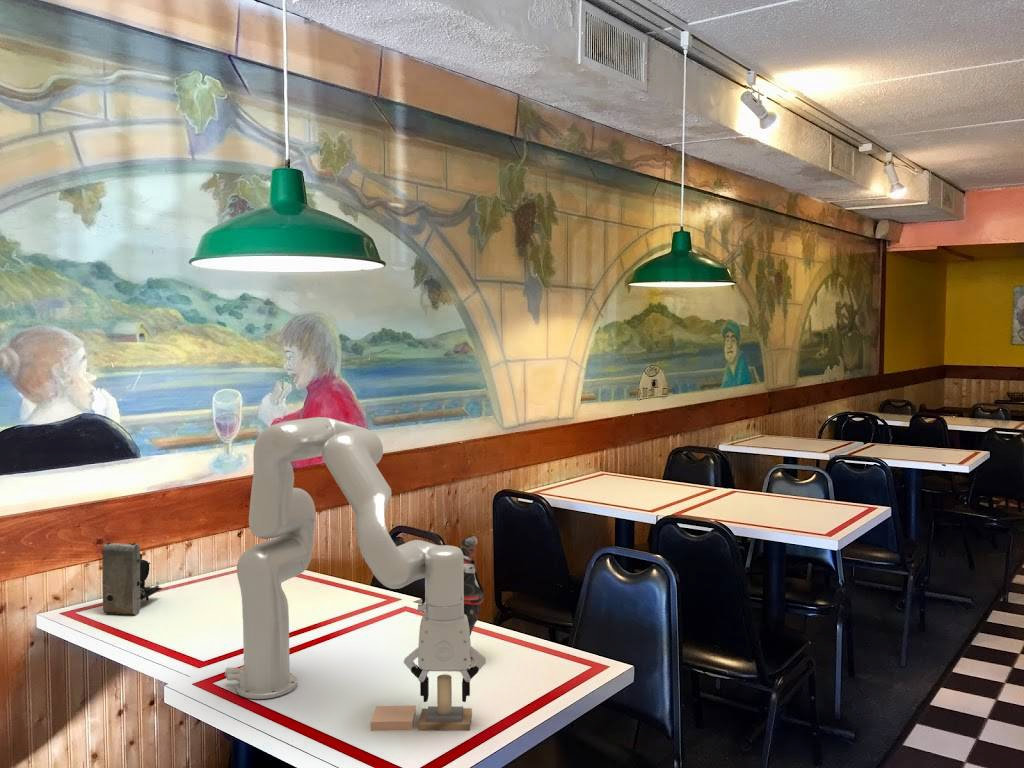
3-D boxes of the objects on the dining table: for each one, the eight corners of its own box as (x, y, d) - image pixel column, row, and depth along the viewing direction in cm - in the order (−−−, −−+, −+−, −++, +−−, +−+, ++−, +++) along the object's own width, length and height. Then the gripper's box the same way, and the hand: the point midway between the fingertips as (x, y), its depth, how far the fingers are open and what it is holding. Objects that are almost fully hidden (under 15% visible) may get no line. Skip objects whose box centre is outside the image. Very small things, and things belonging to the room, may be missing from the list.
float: (425, 721, 162) (425, 682, 162) (428, 710, 167) (427, 672, 167) (461, 721, 162) (461, 682, 162) (463, 710, 167) (463, 672, 167)
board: (418, 730, 161) (418, 724, 161) (422, 714, 168) (421, 708, 168) (469, 730, 161) (469, 724, 161) (471, 714, 168) (471, 708, 168)
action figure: (463, 675, 187) (462, 543, 186) (432, 661, 195) (431, 535, 194) (497, 662, 195) (496, 535, 193) (465, 650, 203) (464, 527, 201)
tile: (370, 721, 161) (412, 721, 161) (376, 705, 168) (415, 705, 168) (370, 732, 161) (412, 732, 161) (376, 716, 168) (416, 715, 168)
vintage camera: (165, 601, 243) (163, 533, 243) (134, 616, 228) (132, 544, 227) (134, 600, 244) (133, 532, 244) (101, 616, 229) (99, 543, 229)
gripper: (397, 616, 160) (398, 707, 161) (488, 616, 160) (488, 707, 161) (402, 604, 167) (403, 691, 168) (489, 604, 167) (489, 691, 168)
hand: (445, 698), depth 164 cm, fingers open, 7 cm apart
